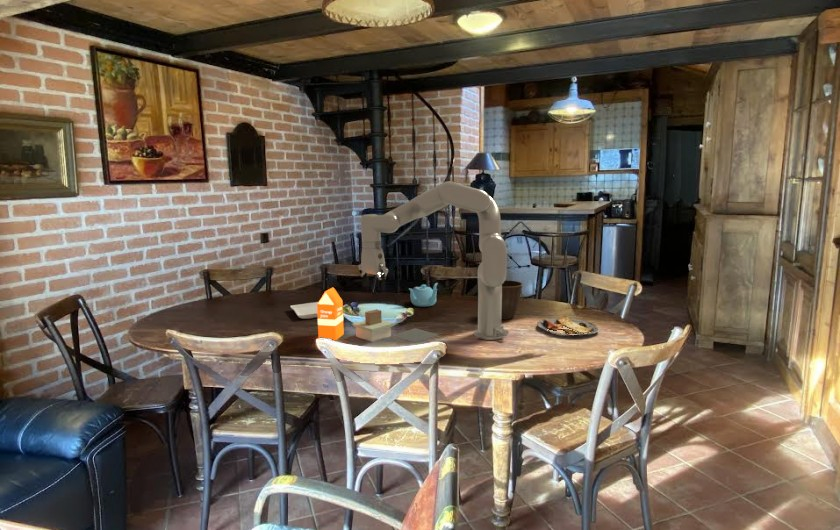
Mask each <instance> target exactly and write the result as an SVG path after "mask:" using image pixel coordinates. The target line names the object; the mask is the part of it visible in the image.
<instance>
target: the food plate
mask: <svg viewBox="0 0 840 530" xmlns="http://www.w3.org/2000/svg"><path fill="white" fill-rule="evenodd" d="M536 325H537V327H539V328H541V329H542V330H544V331H545V332H546V333H549V332H550V331H549V330H553V331H557V330H563V331H565V332H566V333H568V334H577V335H579V336H586V335H593V334H596V333H598V332H599V331H600V328H599V327H598V325H596V324H595V323H593V322H589V321H585V320H583V319H578V318H569V317H568V316H567V315H564V316H562V317H550V318H544V319H541V320H539V321H538V322H537V324H536ZM563 326H565V327H567V328H569V329H572V330H569V329H561V328H563ZM547 329H549V330H548V331H547ZM573 330H575V331H577V332H580V333H583V334H579V333H577V332H575V331H573ZM589 332H591V333H589ZM566 333H565V334H564V333H561V334H559V333H556V332H555V333H554V332H550V334H553V335H558V336H563V337H564V336H565V337H567V336H566V335H568V334H566ZM584 333H587V334H584ZM571 337H575V336H574V335H572V336H571Z"/></svg>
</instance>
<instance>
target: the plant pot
mask: <svg viewBox="0 0 840 530" xmlns="http://www.w3.org/2000/svg"><path fill="white" fill-rule="evenodd" d="M522 291H523V283H522V282H520V281H517V280H507V279H505V281H504V283H503V284H502V313H501V320H510V319H511V318H512V319H513V318H515V315H516V313H517V309H518V306H519V305H520V304H519V303H520V300H521V295H522ZM512 319H511V320H512Z"/></svg>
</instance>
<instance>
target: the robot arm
mask: <svg viewBox="0 0 840 530" xmlns="http://www.w3.org/2000/svg"><path fill="white" fill-rule="evenodd" d="M448 205H450V206H453V207H457V208H460V209H462V210H463V209H464V210H467V211H471V212H473V213H476V215H477V217H478V228H479V229H478V230H479V233H478V234H479V235H478V236H479V239H478V247H479V248H478V249H479V251H480V252H481V262H480V264H479V265H478V268H477V290H478V291H477V296H478V298H477V330H474V332H473V336H474V337H475V338H477V339H480V340H487V341H495V340H501V339H504V338H505V337H507V336H508V334H509V330H508V329H504V328H505V327H504V325H503V324H502V319H501V313H502V284H503V283H504V281H505V280H507V273H508V272H507V269H508V268H507V267H508V266H507V265H508V264H507V263H508V262H507V261H508V260H507V259H508V255H507V254H508V253H507V252H508V251H507V250H508V249H507V245H506V241H505V240H504V238H503V237H502V223H501V220H502V219H501V212H500V209H499V206H498V205H497V203H496V201H495V200H494V199H493V198H492V196H490V194H488V193H487V192H486V191H484V190H483V189H478V188H476V187H471V186H468V185H464V184H461V183H459V182H458V183H457V182H454V181H450V180H448V181H444V182H442V183H440V184H438V185H437V186H434V187H433V188H431V189H429V190H427V191H425V192H423V193H421V194H419V195H417V196H416V197H415V196H414V198H412V199H411V200H409V201H407V202H405V203H404V204H401V205H400V206H398V207H395V208H394V209H391V210H389V211H388V212H386V213H384V214H379V215H378V214H377V213H371V214H370V213H369V214H362V215H361V218H360V227H361V228H360V229H361V230H360V233H361V247H362V248H361V259H360V261H361V263H360V264H358V265H357V268H358V270H359V274H360V277H361V283H362V285H361V286H362V288H365V287H369V286H370V276H369V275H376V277H377V278H378V280H377V289H378V291H382V290H386V279H387V277H388V273H389V269H388V267H386V261H385V260H386V259H385V254H384V251H383V250H384V249H383V248H382V237H381V236H382V235H381V233H383V234H384V233H386V234H393V233H395V232H396V231H398V229H399V228H401V227H402V226H404V225H406V224H408V223H410V222H412V221H414V220H417V219H421V218H425V217H428V216H430V215H431V214H433V213H435V212H437V211H439V210H441V209H443V208H445V207H447V206H448Z"/></svg>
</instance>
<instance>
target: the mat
mask: <svg viewBox="0 0 840 530" xmlns="http://www.w3.org/2000/svg"><path fill="white" fill-rule="evenodd" d="M436 336H439V334H437V333H435V332H431V331H427V330H422V329H420V328H416V327H414V328H411V329H408V330H405V331H402V332H398V333H395V334H391V337H395V338H398V339H402V340H405V341H409V342H412V343H419V342H421V341H425V340H428V339H431V338H434V337H436Z"/></svg>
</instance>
